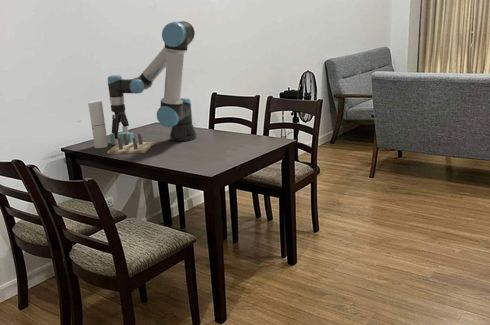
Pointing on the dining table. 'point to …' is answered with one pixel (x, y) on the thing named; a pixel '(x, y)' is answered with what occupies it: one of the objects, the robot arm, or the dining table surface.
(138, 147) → the wooden peg board
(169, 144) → the dining table surface
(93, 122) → the cylindrical container
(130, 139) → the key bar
